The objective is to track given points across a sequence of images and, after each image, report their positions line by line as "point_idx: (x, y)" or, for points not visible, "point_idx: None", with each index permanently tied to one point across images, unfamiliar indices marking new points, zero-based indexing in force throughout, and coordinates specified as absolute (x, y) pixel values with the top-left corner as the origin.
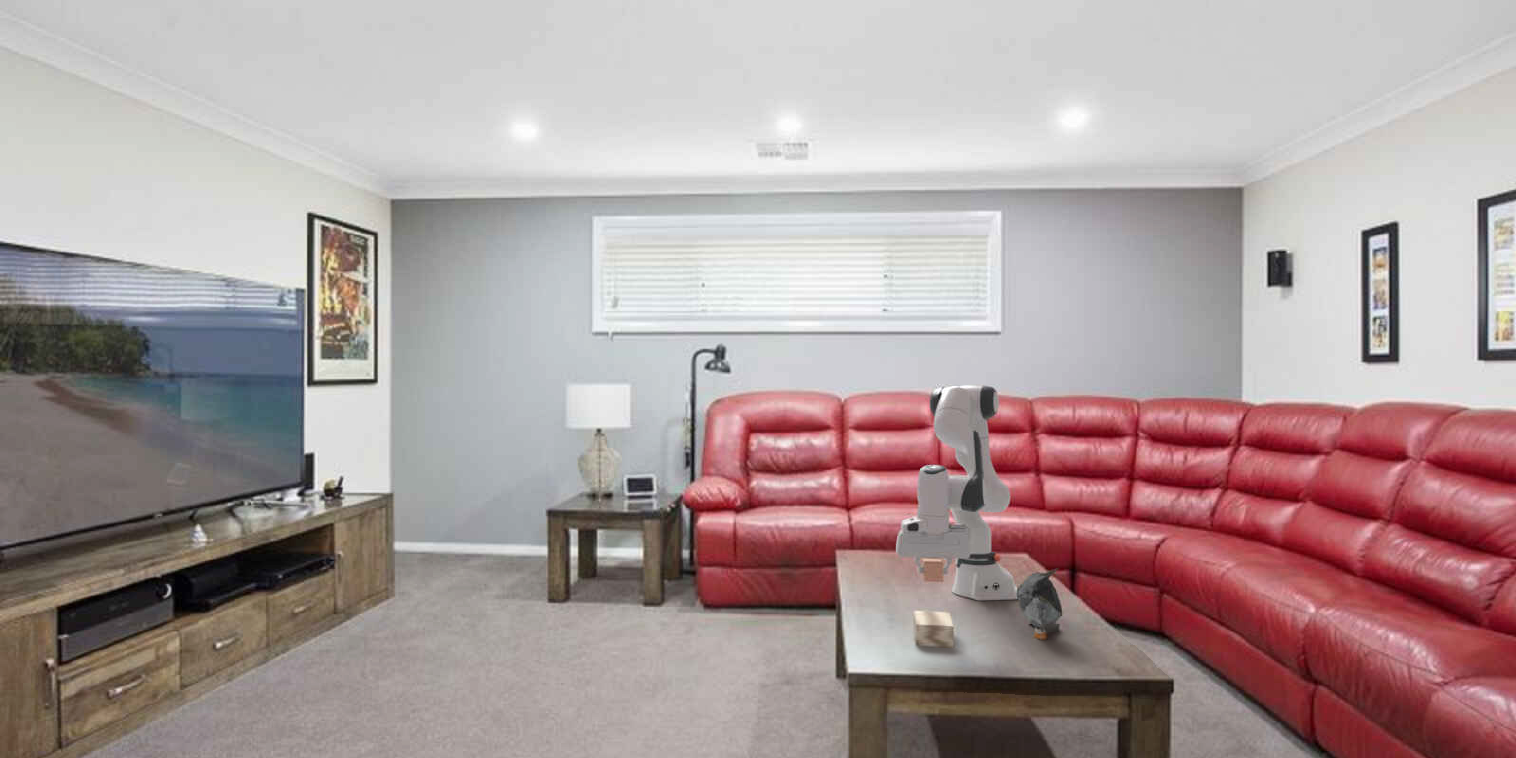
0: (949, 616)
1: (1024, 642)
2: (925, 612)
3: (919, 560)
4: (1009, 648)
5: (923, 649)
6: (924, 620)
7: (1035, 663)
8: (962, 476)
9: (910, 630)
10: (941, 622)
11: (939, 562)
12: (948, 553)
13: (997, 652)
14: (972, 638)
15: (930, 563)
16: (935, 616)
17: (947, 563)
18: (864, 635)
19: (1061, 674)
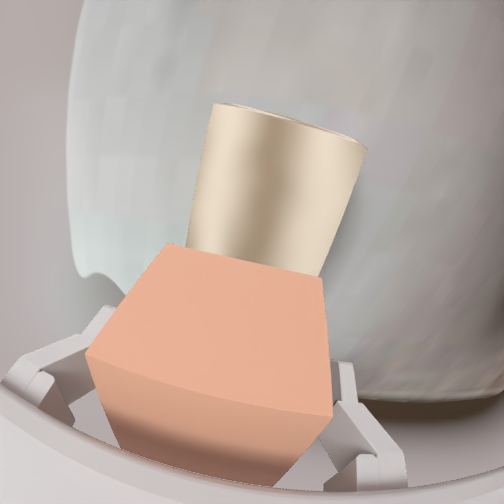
0: (344, 199)
1: (492, 257)
2: (258, 133)
3: (69, 422)
4: (440, 287)
5: None
6: (223, 229)
7: (425, 357)
8: None
9: (220, 102)
10: (281, 259)
11: (255, 470)
12: None
13: (398, 306)
14: (397, 205)
15: (164, 463)
16: (284, 190)
17: (342, 458)
18: (84, 146)
19: (425, 390)
